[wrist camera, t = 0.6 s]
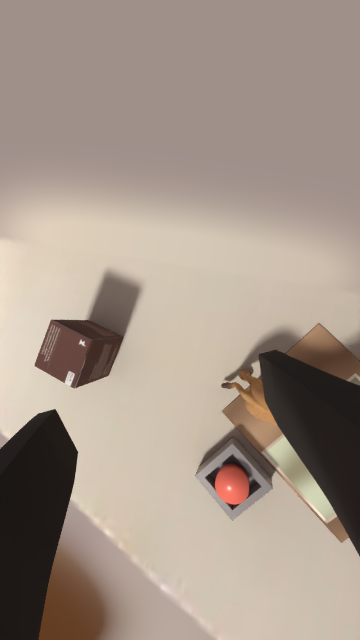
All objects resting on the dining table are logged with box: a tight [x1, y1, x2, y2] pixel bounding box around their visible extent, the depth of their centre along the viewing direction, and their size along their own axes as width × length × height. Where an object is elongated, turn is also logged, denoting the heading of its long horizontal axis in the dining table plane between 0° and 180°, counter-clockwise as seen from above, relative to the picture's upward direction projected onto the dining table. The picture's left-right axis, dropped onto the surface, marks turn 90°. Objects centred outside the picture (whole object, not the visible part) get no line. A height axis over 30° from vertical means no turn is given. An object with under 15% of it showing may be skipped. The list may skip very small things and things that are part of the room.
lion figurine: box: [221, 370, 278, 426], centre depth 26 cm, size 15×5×9 cm, turn 80°
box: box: [35, 320, 123, 389], centre depth 33 cm, size 6×6×7 cm
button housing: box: [195, 437, 273, 521], centre depth 31 cm, size 6×6×2 cm
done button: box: [215, 463, 249, 504], centre depth 30 cm, size 4×4×2 cm
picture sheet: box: [222, 324, 360, 543], centre depth 29 cm, size 18×15×1 cm
